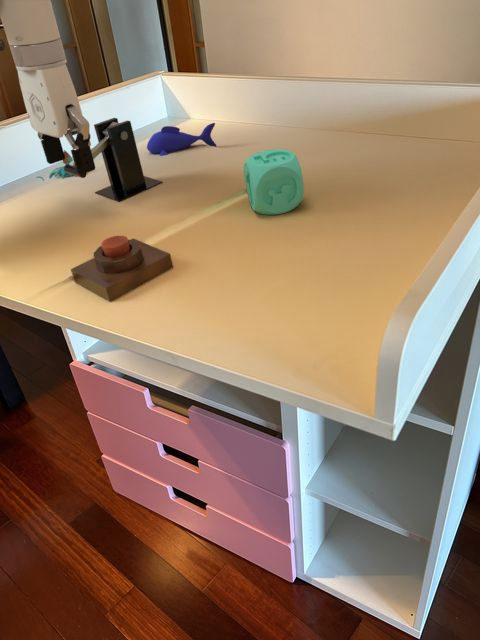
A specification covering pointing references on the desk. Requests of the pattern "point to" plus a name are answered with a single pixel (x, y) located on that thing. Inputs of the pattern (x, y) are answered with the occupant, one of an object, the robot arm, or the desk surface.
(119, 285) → the button block
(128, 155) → the switch bracket
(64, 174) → the dragon figurine
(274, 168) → the decorative dice
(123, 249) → the button
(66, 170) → the switch lever
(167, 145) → the fish toy
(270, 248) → the desk surface
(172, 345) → the desk surface
